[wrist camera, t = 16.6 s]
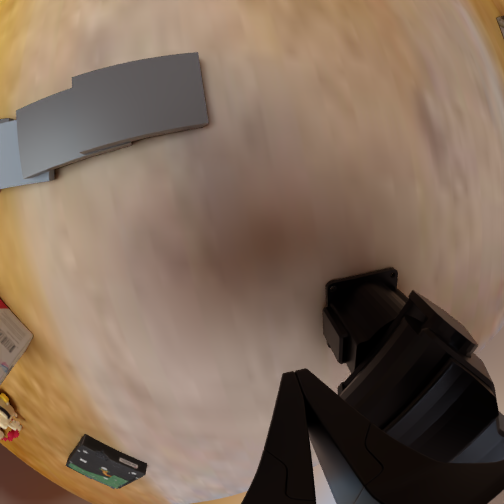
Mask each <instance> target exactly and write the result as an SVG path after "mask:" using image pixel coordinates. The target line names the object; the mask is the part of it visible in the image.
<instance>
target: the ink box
mask: <svg viewBox="0 0 504 504" xmlns="http://www.w3.org/2000/svg"><path fill="white" fill-rule="evenodd" d="M32 338H33V334H32V333H31V332H30V331H29V330H28V329H27V328H26V327H25V326H24V325H23V324H22V323H21V322H20V320H19V319H18V318H17V317H16V316H15V315H14V314H13V313H12V312H11V311H10V309H9V308H8V307H7V306H6V305H5V304H4V303H3V301H2V300H1V299H0V385H1V383H2V382H3V381H4V379H5V378H6V376H7V375H8V374H9V372H10V371H11V369H12V368H13V367H14V365H15V364H16V363H17V361H18V360H19V359H20V357H21V356H22V355H23V353H24V352H25V351H26V349H27V347H28V345H29V343H30V341H31V340H32Z"/></svg>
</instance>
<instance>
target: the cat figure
mask: <svg viewBox="0 0 504 504" xmlns="http://www.w3.org/2000/svg"><path fill="white" fill-rule="evenodd" d="M8 401H9V399H8V397H7V396H6V395H5V394H4V393H1V395H0V427H2V428H3V429H4V428H5V429H6V428H7V426H9V427H10V428H12V430H11V432H10V431H9V433H8V434H7V435H8V438H5V436H4V433H3V432H2V431H1V430H0V439H2V440H3V439H4V440H5V441H6V440H7V439H8V440H9V441H10V440H11V441H12V440H13V438H16V437H18V436H19V433H18V432H19V431H20V430H21V428H22V426H21V425H19V424H20V423H19V422H18V421H17V422H16V421H15V420H14V419H12V417H13V416H15V417H16V418H17V416H18V415H17V414H16V413H15V412H14V409H13V407H12V406H10V405H9V402H8ZM11 419H12V423H10V421H11ZM17 430H19V431H17Z"/></svg>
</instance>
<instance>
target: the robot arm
mask: <svg viewBox="0 0 504 504" xmlns="http://www.w3.org/2000/svg"><path fill="white" fill-rule="evenodd" d="M391 273H393V274H392V275H391ZM390 275H391V276H390ZM397 277H398V272H397V270H396V269H394V268H388V269H383V270H379V271H375V272H370V273H366V274H361V275H357V276H352V277H348V278H343V279H338V280H333V281H330V282H328V283H327V285H326V307H325V308H324V309H323V333H324V336H325V338H326V340H327V345H328V347H329V348H331V349H332V351H333V353H334V355H335V357H336V359H337V361H338V362H339V363H340V364H343V363H346V364H347V366H348V368H349V370H350V372H351V375H350V376H349V377H348V378H347V379H346V381H345V382H342V383H341V384H340V385H339V386H338V395H337V394H336V393H335V392H334V391H333V390H331V389H330V388H329V387H328V386H327V385H325V384H324V383H323V382H322V381H321V380H320V379H318V378H317V377H316V376H315V375H314V374H313V373H311V372H310V371H309V370H308V369H301V370H296V371H295V372H294V371H291V372H287V373H283V374H282V378H281V382H280V387H279V391H278V395H277V399H276V404H275V408H274V412H273V416H272V420H271V424H270V427H269V431H268V435H267V439H266V443H265V446H264V450H263V453H262V456H261V460H260V463H259V466H258V469H257V472H256V474H255V477H254V479H253V481H252V483H251V486H250V488H249V489H248V491H247V493H246V496H245V497H244V499H243V501H242V503H241V504H316V497H315V486H314V476H313V467H312V458H311V449H310V440H311V443H312V445H313V448H314V450H315V452H316V455H317V457H318V460H319V462H320V465H321V467H322V470H323V472H324V475H325V477H326V479H327V482H328V484H329V487H330V489H331V492H332V494H333V496H334V499H335V501H336V503H337V504H504V415H502V414H501V413H500V412H499V411H498V406H497V400H496V394H495V388H494V384H493V382H492V380H491V378H490V376H489V373H488V371H487V369H486V367H485V365H484V363H483V362H482V360H481V359H479V358H478V357H477V356H476V355H475V354H474V353H473V352H474V351H475V349H476V348H477V347H478V344H477V343H476V341H475V340H474V339H473V337H472V336H471V335H470V334H469V332H468V331H467V330H466V329H465V327H464V326H463V325H461V324H460V323H459V322H458V321H457V320H455V319H454V318H453V317H452V316H451V315H449V314H448V313H447V312H446V311H444V310H443V309H441V308H440V307H438V306H437V305H435V304H434V303H432V302H431V301H429V300H428V299H426V298H425V297H423V296H422V295H420V294H418V293H417V292H415V291H414V290H412V292H411V293H410V295H409V299H408V298H407V297H406V296H405V295H404V294H403V293H402V292H401V291H399V290H398V289H397ZM332 286H335V287H334V288H333V289H330V288H331V287H332ZM309 438H310V440H309Z"/></svg>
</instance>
